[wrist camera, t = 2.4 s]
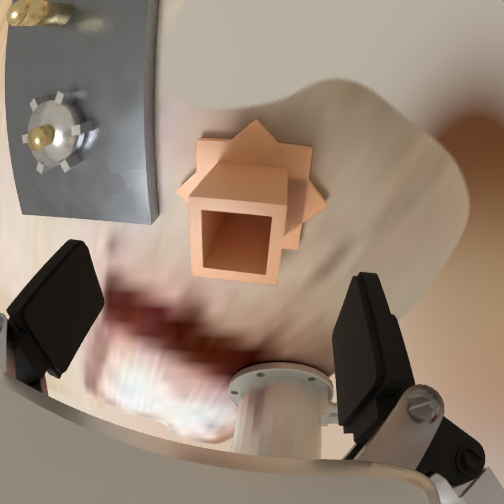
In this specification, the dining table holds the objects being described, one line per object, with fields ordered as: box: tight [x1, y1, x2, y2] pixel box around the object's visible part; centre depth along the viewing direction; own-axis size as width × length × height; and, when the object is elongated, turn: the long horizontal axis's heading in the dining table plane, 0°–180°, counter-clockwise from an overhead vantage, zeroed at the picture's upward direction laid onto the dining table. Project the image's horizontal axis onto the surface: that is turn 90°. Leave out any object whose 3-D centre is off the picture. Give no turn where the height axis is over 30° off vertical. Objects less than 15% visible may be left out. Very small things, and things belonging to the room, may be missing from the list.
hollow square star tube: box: [176, 118, 327, 286], centre depth 17 cm, size 10×10×7 cm
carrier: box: [5, 0, 159, 225], centre depth 13 cm, size 15×23×7 cm, turn 177°
